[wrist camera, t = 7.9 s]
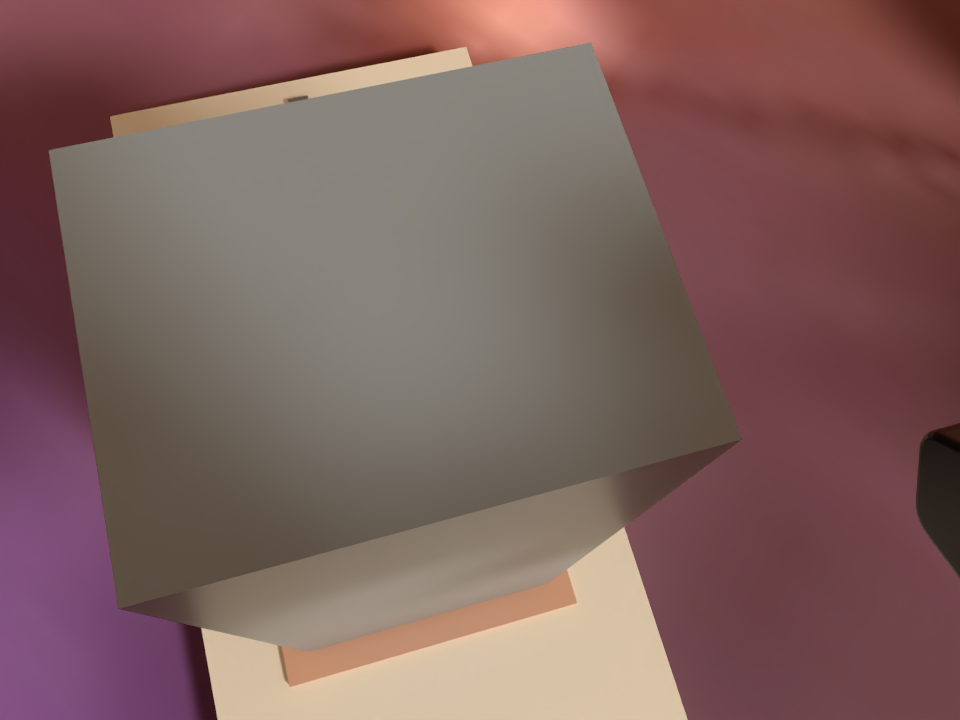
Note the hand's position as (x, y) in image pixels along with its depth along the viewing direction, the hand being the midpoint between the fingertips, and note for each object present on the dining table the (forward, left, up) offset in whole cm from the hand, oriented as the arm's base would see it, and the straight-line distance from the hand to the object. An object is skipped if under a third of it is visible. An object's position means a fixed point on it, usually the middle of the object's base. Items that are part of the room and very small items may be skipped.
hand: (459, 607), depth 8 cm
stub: (+2, -1, -11) cm, 11 cm away
